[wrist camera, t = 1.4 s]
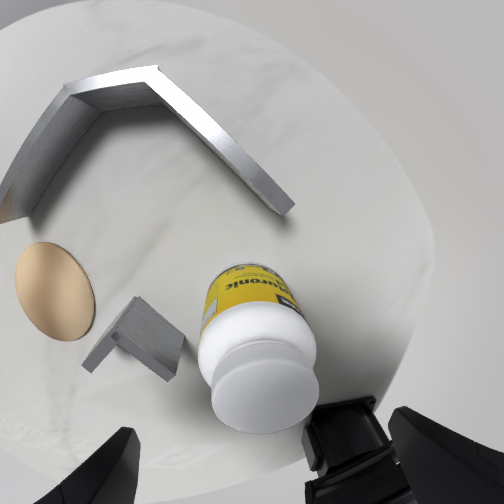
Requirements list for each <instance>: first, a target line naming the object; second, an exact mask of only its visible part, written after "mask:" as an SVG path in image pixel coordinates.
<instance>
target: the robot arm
mask: <svg viewBox="0 0 504 504" xmlns="http://www.w3.org/2000/svg"><path fill="white" fill-rule="evenodd" d="M375 403H376V399H375V397H374V396H370V397H366V398H361V399H356V400H351V401H346V402H340V403H335V404H328V405H322V406H316V407H314V409H313V410H312V411H311V413H310V417H309V422H308V424H307V425H306V426H305V429H304V433H303V437H302V444H303V447H304V451H305V454H306V457H307V461H308V464H309V467H310V470H311V471H313V472H314V471H317V473H318V476H319V478H317V479H315V480H312V481H311V480H310V481H308V482H306V483H305V500H306V501H305V502H306V504H504V453H503V452H499V451H497V450H494V449H491V448H488V447H486V446H484V445H482V444H479V443H477V442H474V441H473V440H471V439H469V438H467V437H465V436H462V435H460V434H458V433H456V432H454V431H452V430H450V429H448V428H446V427H444V426H442V425H440V424H438V423H437V422H435V421H433V420H431V419H429V418H427V417H425V416H423V415H421V414H419V413H418V412H416V411H413V410H412V409H410V408H408V407H406V406H402V407H399V408H396V409H395V410H394V411H393V414H392V416H391V418H390V420H389V423H388V429H389V432H390V435H391V438H392V440H390V441H389V439H388V437H387V436H386V434H385V432H384V430H383V429H382V427H381V426H380V424H379V422H378V420H377V419H376V417H375V415H374V413H373V412H372V411H373V408H374V406H375ZM316 411H317V412H316ZM140 448H141V446H140V441H139V439H138V436H137V434H136V432H135V430H134V429H133V428H129V427H121V428H120V429H119V430H118V431H117V432H116V433H115V434H114V435H113V436H111V437H110V438H109V439H108V440H107V441H106V442H105V443H104V444H103V445H102V446H101V447H100V448H99V449H97V450H96V451H95V452H94V453H93V454H92V455H91V456H90V457H89V458H88V459H87V460H85V461H84V462H83V463H82V464H81V465H80V466H79V467H78V468H77V469H75V470H74V471H73V472H72V473H71V474H70V475H69V476H68V477H66V478H65V479H64V480H63V481H62V482H61V483H60V484H59V485H57V486H56V487H55V488H54V489H53V490H51V491H50V492H49V493H48V494H46V495H45V496H44V497H42V498H41V499H39V500H38V501H37V502H35V503H34V504H134V499H135V494H136V489H137V483H138V471H139V459H140ZM398 462H400V463H399V464H397V465H396V463H398Z"/></svg>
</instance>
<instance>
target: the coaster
mask: <svg viewBox="0 0 504 504" xmlns="http://www.w3.org/2000/svg"><path fill="white" fill-rule="evenodd" d="M15 287H16V292H17V296H18V299H19V302H20V304H21V306H22V308H23V310H24V312H25V314H26V315H27V317H28V318H29V320H30V321H31V322H32V323H33V324H34V325H35V326H36V327H37V328H38V329H39V330H40V331H41V332H43V333H44V334H46V335H47V336H49V337H51V338H53V339H56V340H60V341H72V340H76V339H78V338H80V337H81V336H82V335H83V334H84V333H85V332H86V331H87V330H88V328H89V327H90V325H91V323H92V320H93V316H94V297H93V292H92V288H91V285H90V282H89V280H88V278H87V276H86V274H85V272H84V270H83V269H82V267H81V266H80V264H79V263H78V262H77V261H76V259H75V258H74V257H73V256H72V255H71V254H70V253H69V252H67V251H66V250H65V249H63V248H62V247H60V246H58V245H56V244H53V243H49V242H40V243H36V244H34V245H31V246H29V247H28V248H27V249H25V250H24V251H23V253H22V254H21V255H20V257H19V259H18V262H17V265H16V269H15Z"/></svg>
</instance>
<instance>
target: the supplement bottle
mask: <svg viewBox="0 0 504 504" xmlns="http://www.w3.org/2000/svg"><path fill="white" fill-rule="evenodd" d="M316 351H317V350H316V342H315V338H314V335H313V333H312V330H311V328H310V326H309V324H308V322H307V321H306V319H305V317H304V315H303V314H302V312H301V310H300V309H299V307H298V305H297V303H296V301H295V300H294V298H293V296H292V294H291V293H290V291H289V289H288V287H287V286H286V284H285V282H284V281H283V280H282V278H281V277H280V276H279V275H278V274H277V273H276V272H275V271H274V270H272V269H271V268H269V267H267V266H265V265H262V264H258V263H253V262H244V263H238V264H235V265H232V266H230V267H228V268H226V269H224V270H223V271H222V272H220V273H219V274H218V275H217V276H216V277H215V279H214V280H213V282H212V283H211V285H210V287H209V290H208V293H207V297H206V302H205V308H204V314H203V320H202V327H201V333H200V339H199V346H198V363H199V368H200V371H201V373H202V376H203V377H204V379H205V381H206V382H207V384H208V385H209V386H210V387H211V402H212V407H213V410H214V412H215V414H216V415H217V417H218V418H219V419H220V420H221V421H222V422H223V423H224V424H226V425H227V426H229V427H231V428H233V429H235V430H238V431H241V432H245V433H250V434H268V433H274V432H279V431H282V430H285V429H288V428H290V427H292V426H294V425H296V424H298V423H299V422H301V421H302V420H303V419H305V418H306V417H307V416H308V415H309V414H310V413H311V411H312V410H313V409H314V407H315V405H316V403H317V401H318V397H319V384H318V381H317V378H316V376H315V374H314V372H313V366H314V364H315V360H316Z"/></svg>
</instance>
